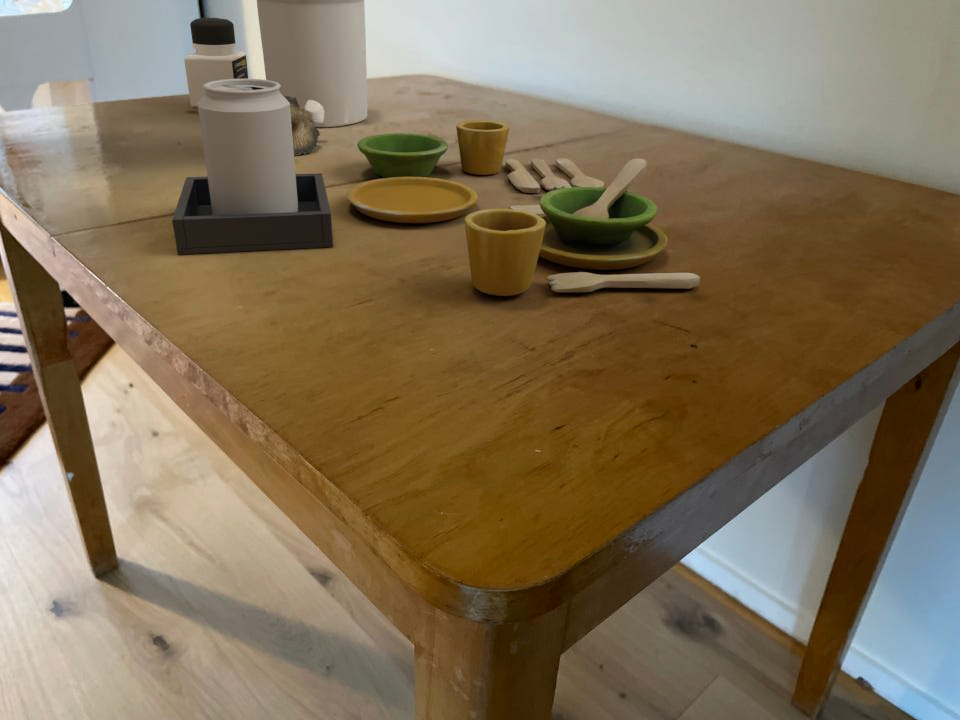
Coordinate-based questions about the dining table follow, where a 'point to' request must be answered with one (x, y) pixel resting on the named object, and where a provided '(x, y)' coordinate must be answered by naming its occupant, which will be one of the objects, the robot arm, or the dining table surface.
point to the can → (248, 147)
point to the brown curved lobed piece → (305, 124)
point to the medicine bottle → (212, 56)
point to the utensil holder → (317, 54)
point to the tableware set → (519, 213)
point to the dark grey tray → (252, 222)
